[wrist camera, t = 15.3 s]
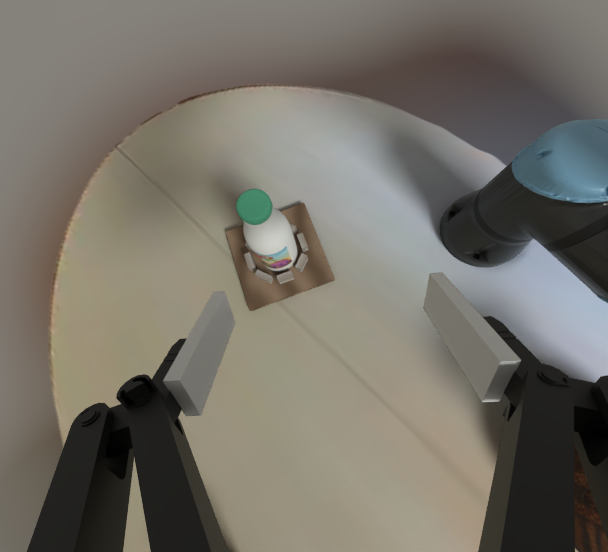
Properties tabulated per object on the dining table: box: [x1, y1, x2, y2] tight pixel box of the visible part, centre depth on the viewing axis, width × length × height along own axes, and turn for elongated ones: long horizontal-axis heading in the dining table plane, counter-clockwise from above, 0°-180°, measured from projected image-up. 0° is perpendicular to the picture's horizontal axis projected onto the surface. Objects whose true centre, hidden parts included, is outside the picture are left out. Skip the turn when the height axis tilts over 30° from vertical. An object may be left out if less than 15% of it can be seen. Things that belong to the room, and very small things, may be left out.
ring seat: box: [226, 203, 335, 311], centre depth 50 cm, size 18×18×4 cm
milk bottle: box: [236, 189, 298, 271], centre depth 41 cm, size 8×8×20 cm
